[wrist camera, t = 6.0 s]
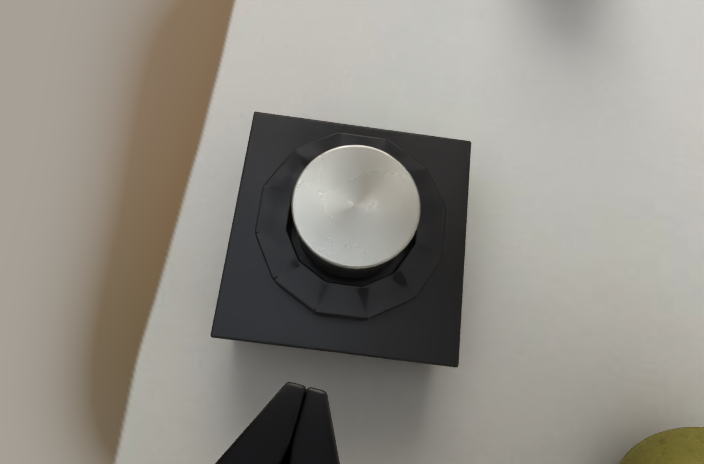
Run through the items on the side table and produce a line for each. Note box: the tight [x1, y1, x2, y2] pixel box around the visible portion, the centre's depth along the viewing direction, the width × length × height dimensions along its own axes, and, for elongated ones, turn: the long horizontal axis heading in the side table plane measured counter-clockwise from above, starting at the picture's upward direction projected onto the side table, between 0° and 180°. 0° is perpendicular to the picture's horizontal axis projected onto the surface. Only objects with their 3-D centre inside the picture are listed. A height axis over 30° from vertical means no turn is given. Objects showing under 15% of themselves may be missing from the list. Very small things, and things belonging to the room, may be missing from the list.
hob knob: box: [291, 145, 420, 279], centre depth 16 cm, size 4×4×2 cm
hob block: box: [211, 112, 471, 367], centre depth 19 cm, size 10×10×6 cm
